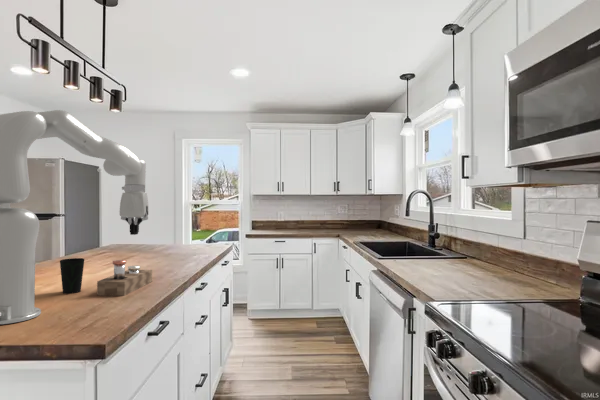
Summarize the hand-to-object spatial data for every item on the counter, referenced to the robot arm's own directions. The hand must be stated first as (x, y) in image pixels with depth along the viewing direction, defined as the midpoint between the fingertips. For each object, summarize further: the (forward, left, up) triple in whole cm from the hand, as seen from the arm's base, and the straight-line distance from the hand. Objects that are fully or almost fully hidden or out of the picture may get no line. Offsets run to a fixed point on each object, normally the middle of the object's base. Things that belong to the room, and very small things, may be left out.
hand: (134, 234), depth 141 cm
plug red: (-11, 0, -16) cm, 19 cm away
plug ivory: (0, 0, -20) cm, 20 cm away
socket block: (-5, 0, -21) cm, 21 cm away
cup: (-12, +17, -21) cm, 29 cm away
